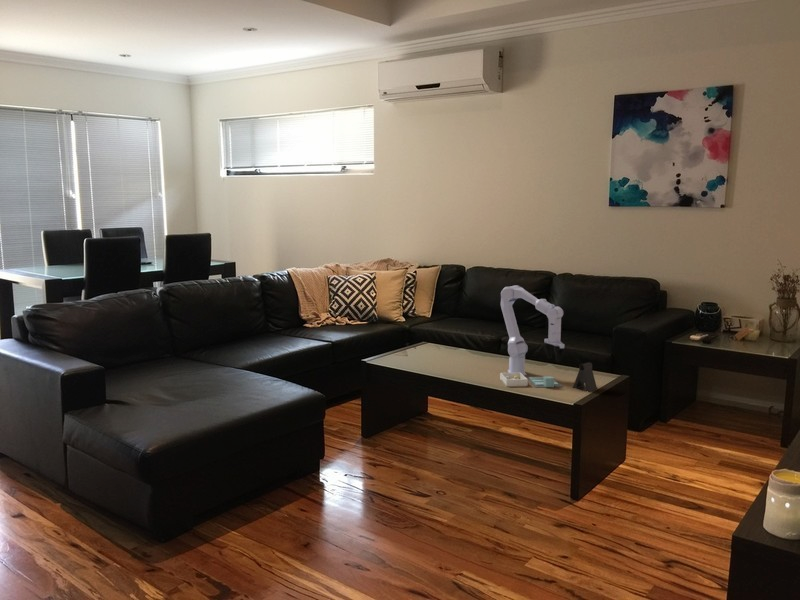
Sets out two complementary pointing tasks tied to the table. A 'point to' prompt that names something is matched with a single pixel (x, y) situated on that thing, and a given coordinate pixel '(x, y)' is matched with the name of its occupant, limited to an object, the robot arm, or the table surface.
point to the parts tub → (513, 379)
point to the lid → (544, 381)
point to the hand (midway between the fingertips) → (553, 360)
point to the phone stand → (585, 378)
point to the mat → (542, 385)
